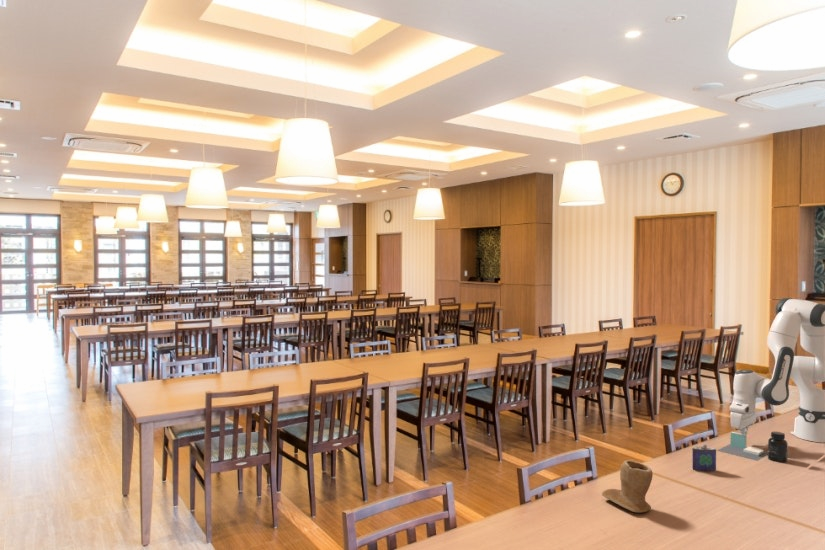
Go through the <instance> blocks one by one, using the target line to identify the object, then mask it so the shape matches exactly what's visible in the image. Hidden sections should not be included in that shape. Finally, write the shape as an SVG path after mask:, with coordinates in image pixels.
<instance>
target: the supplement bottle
mask: <svg viewBox="0 0 825 550" xmlns="http://www.w3.org/2000/svg"><path fill="white" fill-rule="evenodd" d="M785 438H786V435H785V433H784V432H780V431H771V433H770V438H769V439H767V440H768V441H767V444H768V445H767V452H768V455H767V459H768V460H770V461H772V462H773V463H774V462H776V463H782V464H784V463H788V441H787V440H786V439H785Z"/></svg>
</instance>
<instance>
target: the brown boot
mask: <svg viewBox="0 0 825 550" xmlns="http://www.w3.org/2000/svg"><path fill="white" fill-rule="evenodd" d="M653 475H654V474H653V469H651V468H650V467H649V466H648V465H646V464H644V463H641V462H639V461H635V460H624V461H623V462H622V463H621V465H620V471H619V478H620V489H619V488H608V489H605V490H604V491H602V493H601V496H602V497H604V498H606V499H607V500H609V501H611V502H613V503H614V504H616V505H618V506H620V507H622V508H623V509H626V510H628V511H630V512H633V513H641V514H642V513H646V512H649V511H650V510H651V509H652V505H650V504H649V503H648V502H647V501H646V495H647V493H648V491H649V489H650V487H651V483H652V480H653Z"/></svg>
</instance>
